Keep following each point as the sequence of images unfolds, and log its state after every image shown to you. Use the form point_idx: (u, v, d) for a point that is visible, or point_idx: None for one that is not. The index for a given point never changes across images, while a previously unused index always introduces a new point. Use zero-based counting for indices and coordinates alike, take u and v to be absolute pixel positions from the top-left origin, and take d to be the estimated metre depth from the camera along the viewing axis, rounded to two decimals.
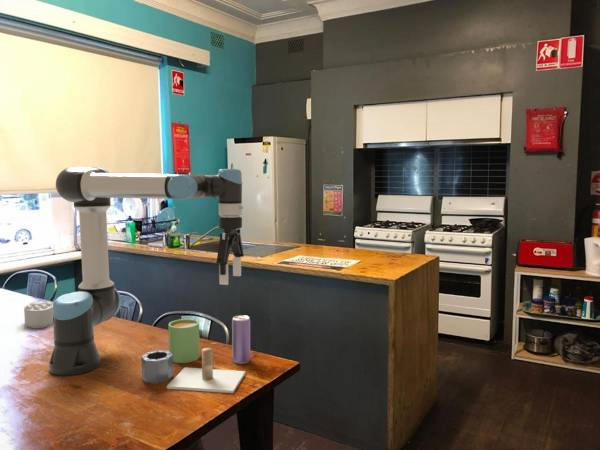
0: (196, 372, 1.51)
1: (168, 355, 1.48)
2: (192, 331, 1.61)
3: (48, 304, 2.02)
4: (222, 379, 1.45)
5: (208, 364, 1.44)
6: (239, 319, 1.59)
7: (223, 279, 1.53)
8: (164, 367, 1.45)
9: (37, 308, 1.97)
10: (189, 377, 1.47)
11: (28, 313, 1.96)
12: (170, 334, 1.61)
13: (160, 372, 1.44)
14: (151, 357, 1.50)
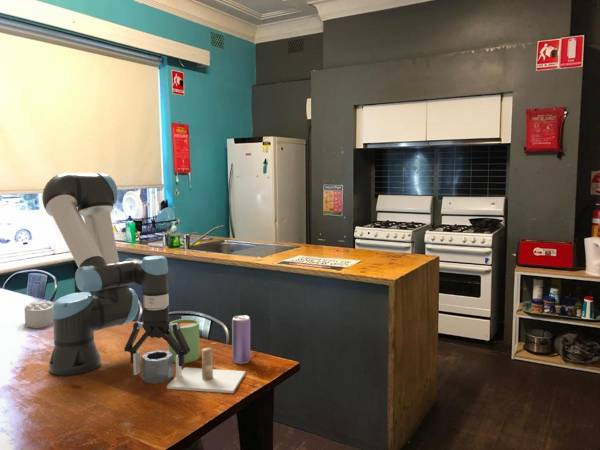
0: (196, 372, 1.51)
1: (168, 355, 1.48)
2: (192, 331, 1.61)
3: (48, 304, 2.03)
4: (222, 379, 1.45)
5: (208, 364, 1.44)
6: (239, 319, 1.59)
7: None
8: (164, 367, 1.45)
9: (38, 308, 1.97)
10: (189, 377, 1.47)
11: (28, 313, 1.97)
12: None
13: (160, 372, 1.44)
14: (151, 357, 1.50)
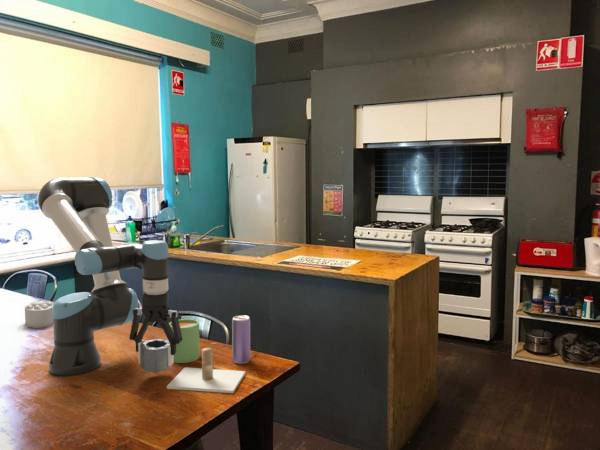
0: (196, 372, 1.51)
1: (167, 344, 1.48)
2: (192, 331, 1.61)
3: (49, 304, 2.03)
4: (222, 379, 1.45)
5: (208, 364, 1.44)
6: (239, 319, 1.59)
7: None
8: (163, 356, 1.45)
9: (38, 308, 1.97)
10: (189, 377, 1.47)
11: (28, 313, 1.97)
12: None
13: (158, 360, 1.44)
14: (150, 345, 1.50)
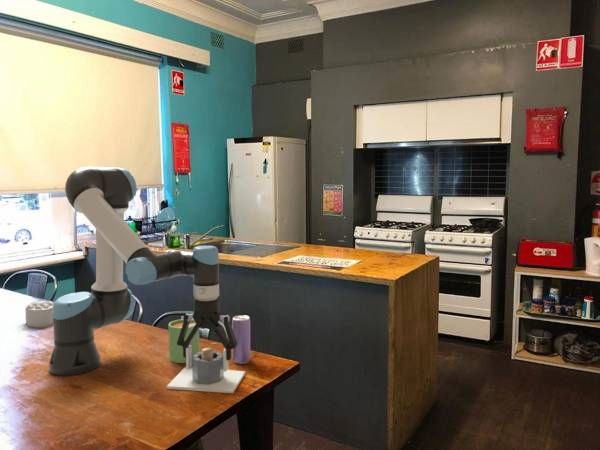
0: None
1: (219, 355, 1.46)
2: None
3: (49, 303, 2.03)
4: (222, 379, 1.45)
5: None
6: (239, 319, 1.59)
7: None
8: (216, 368, 1.43)
9: (39, 307, 1.98)
10: (189, 377, 1.47)
11: (29, 313, 1.97)
12: (170, 334, 1.61)
13: (212, 372, 1.42)
14: (201, 358, 1.47)
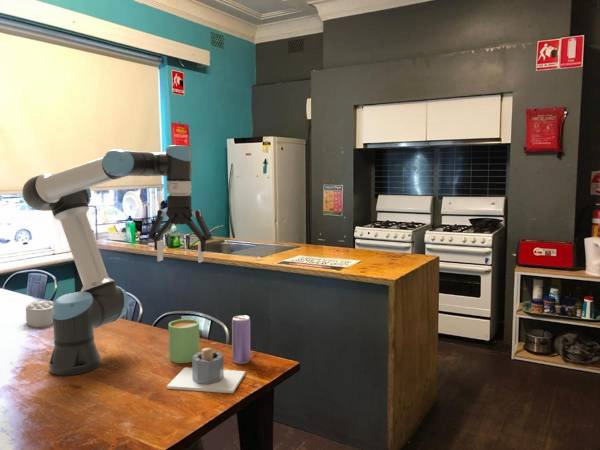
0: None
1: (219, 355, 1.46)
2: (192, 331, 1.61)
3: (50, 303, 2.03)
4: (222, 379, 1.45)
5: None
6: (239, 319, 1.59)
7: None
8: (216, 368, 1.43)
9: (40, 307, 1.98)
10: (189, 377, 1.47)
11: (30, 313, 1.97)
12: (170, 334, 1.61)
13: (212, 372, 1.42)
14: (201, 358, 1.47)
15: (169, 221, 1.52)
